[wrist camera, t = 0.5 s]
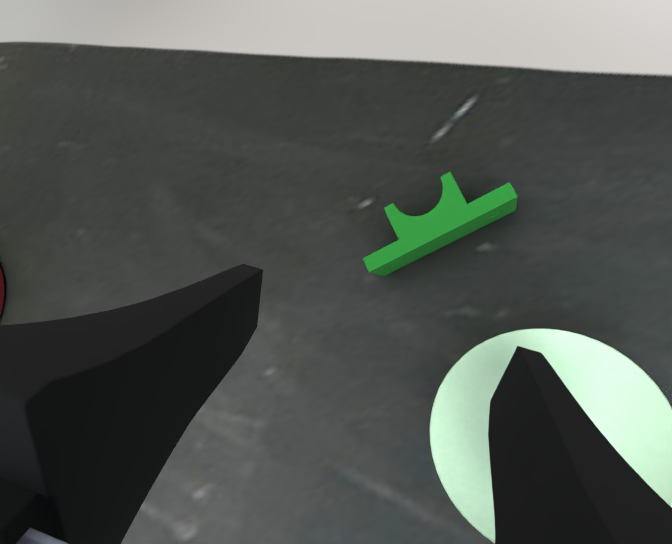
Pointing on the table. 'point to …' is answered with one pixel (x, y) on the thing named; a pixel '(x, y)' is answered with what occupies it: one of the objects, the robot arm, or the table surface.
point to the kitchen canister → (1, 290)
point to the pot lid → (586, 387)
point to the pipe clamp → (439, 225)
